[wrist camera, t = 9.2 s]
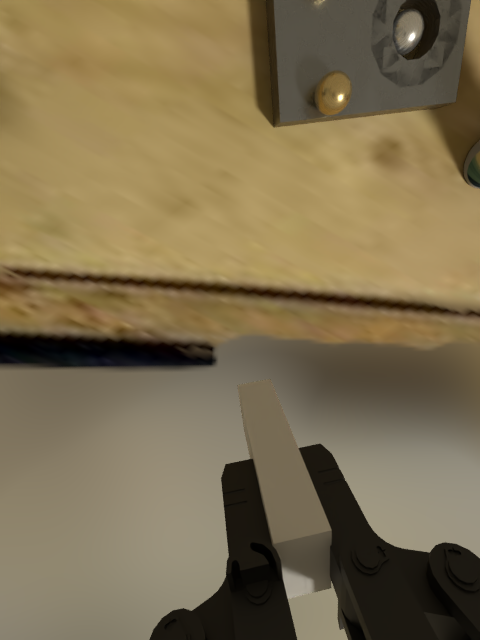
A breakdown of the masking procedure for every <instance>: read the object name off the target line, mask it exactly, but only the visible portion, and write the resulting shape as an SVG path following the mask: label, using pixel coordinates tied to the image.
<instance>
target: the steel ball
mask: <svg viewBox="0 0 480 640" xmlns="http://www.w3.org/2000/svg"><path fill="white" fill-rule="evenodd" d="M423 31H424V19H423V16H422V15H421V13H420V12H419V11H418V10H415V9H406V10H404V11H402V12H400V13H399V14H397V15H396V17H395V19H394V22H393V36H392V39H393V42H394V45H395V48H396V50H397V53H398V54H400V55H401V56H404V55H406V54H408V53H409V52H411V51H412V50H413V49H414V48H415V47H416V46H417V44H418V43H419V41H420V39H421V37H422V34H423Z"/></svg>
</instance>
